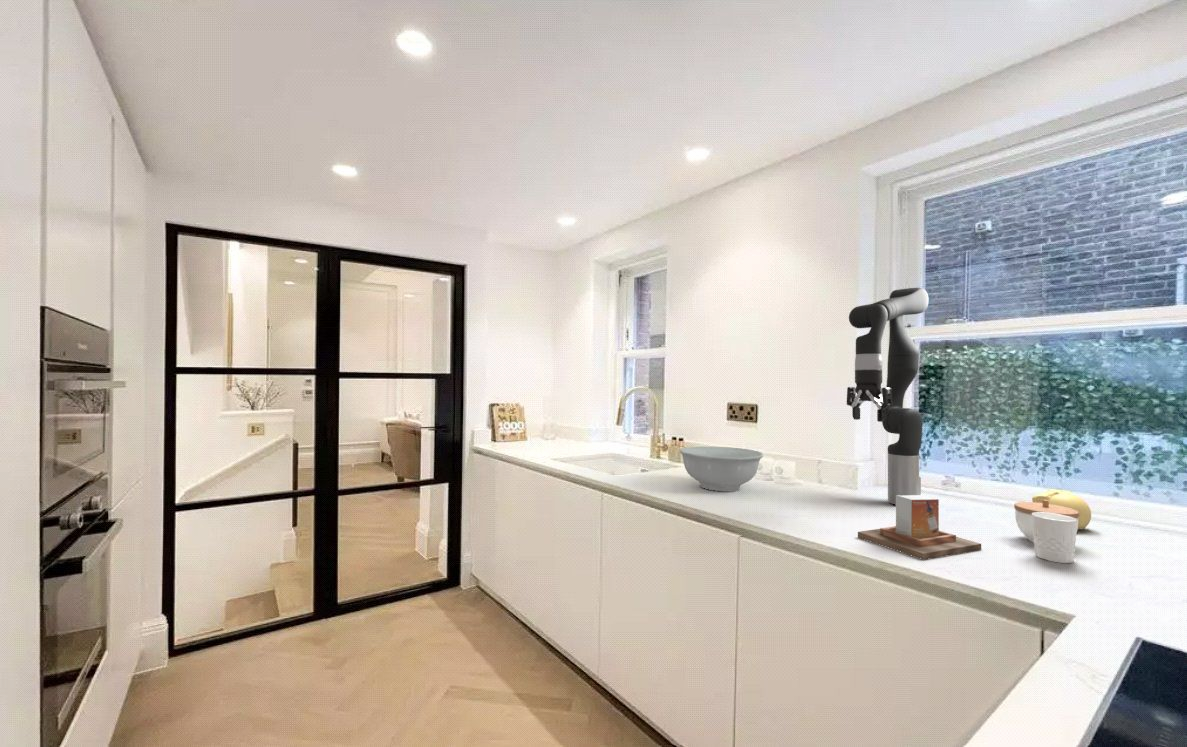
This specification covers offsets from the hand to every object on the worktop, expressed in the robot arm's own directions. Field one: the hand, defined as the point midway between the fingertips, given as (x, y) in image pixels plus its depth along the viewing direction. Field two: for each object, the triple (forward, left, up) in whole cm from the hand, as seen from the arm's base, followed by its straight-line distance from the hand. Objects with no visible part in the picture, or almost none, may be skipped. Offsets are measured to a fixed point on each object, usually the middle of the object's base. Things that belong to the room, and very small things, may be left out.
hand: (868, 420), depth 154 cm
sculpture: (-45, +27, -30) cm, 61 cm away
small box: (+10, +23, -29) cm, 38 cm away
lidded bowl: (-23, +34, -30) cm, 51 cm away
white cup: (-10, +42, -30) cm, 53 cm away
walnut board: (+11, +23, -30) cm, 39 cm away
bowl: (+18, -52, -30) cm, 63 cm away
